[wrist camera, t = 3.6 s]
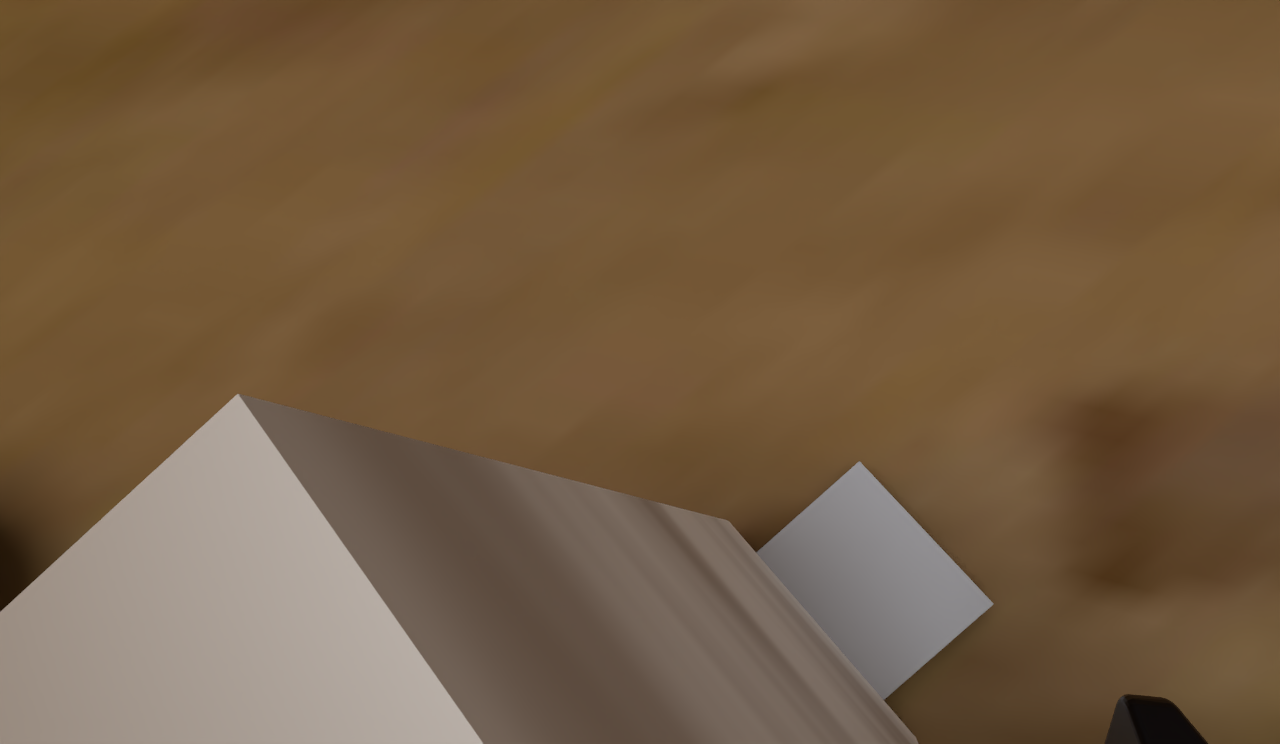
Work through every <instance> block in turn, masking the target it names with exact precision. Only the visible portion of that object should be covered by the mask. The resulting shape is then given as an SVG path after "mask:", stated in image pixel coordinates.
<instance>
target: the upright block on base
mask: <svg viewBox="0 0 1280 744" xmlns="http://www.w3.org/2000/svg"><path fill="white" fill-rule="evenodd" d="M992 605H993V603H992V602H991V600H990V599H989V598H988V597H987V596H986V595H985V594H984V593H983V592H982V591H981V590H980V589H979V588H978V587H977V586H976V585H975V584H974V582H973V581H972V580H971V579H970V578H969V577H968V576H967V575H966V574H965V573H964V572H963V571H962V570H961V569H960V568H959V567H958V565H957V564H956V563H955V562H954V561H953V560H952V559H951V558H950V557H949V556H948V555H947V554H946V553H945V552H944V551H943V550H942V548H941V547H940V546H939V545H938V544H937V543H936V542H935V541H934V540H933V539H932V538H931V537H930V536H929V535H928V534H927V533H926V531H925V530H924V529H923V528H922V527H921V526H920V525H919V524H918V523H917V522H916V521H915V520H914V519H913V518H912V517H911V516H910V514H909V513H908V512H907V511H906V510H905V509H904V508H903V507H902V506H901V505H900V504H899V503H898V502H897V501H896V500H895V499H894V497H893V496H892V495H891V494H890V493H889V492H888V491H887V490H886V489H885V488H884V487H883V486H882V485H881V484H880V483H879V482H878V480H877V479H876V478H875V477H874V476H873V475H872V474H871V473H870V472H869V471H868V470H867V469H866V468H865V467H864V466H863V465H862V463H861V462H860V461H859V462H858V463H857V464H856V465H855V466H853V467H852V468H851V469H850V470H849V471H848V472H847V473H846V474H844V475H843V476H842V477H841V478H840V479H839V480H838V481H836V482H835V483H834V484H833V485H832V486H831V487H830V488H829V489H827V490H826V491H825V492H824V493H823V494H822V495H821V496H820V497H818V498H817V499H816V500H815V501H814V502H813V503H812V504H811V505H809V506H808V507H807V508H806V509H805V510H804V511H803V512H802V513H800V514H799V515H798V516H797V517H796V518H795V519H794V520H792V521H791V522H790V523H789V524H788V525H787V526H786V527H785V528H783V529H782V530H781V531H780V532H779V533H778V534H777V535H776V536H774V537H773V538H772V539H771V540H770V541H769V542H768V543H767V544H765V545H764V546H763V547H762V548H761V549H760V550H759V551H758V552H755V551H754V550H753V549H752V547H751V546H750V545H749V544H748V543H747V542H746V540H745V539H744V538H743V537H742V536H741V535H740V534H739V532H738V531H737V530H736V529H735V528H734V527H733V525H732V524H731V523H730V522H729V521H728V520H724V519H720V518H716V517H712V516H708V515H704V514H701V513H697V512H693V511H689V510H685V509H681V508H677V507H674V506H670V505H666V504H662V503H658V502H654V501H650V500H646V499H643V498H639V497H635V496H631V495H627V494H623V493H619V492H616V491H612V490H608V489H604V488H600V487H596V486H592V485H589V484H585V483H581V482H577V481H573V480H569V479H565V478H561V477H558V476H554V475H550V474H546V473H542V472H538V471H534V470H531V469H527V468H523V467H519V466H515V465H511V464H507V463H504V462H500V461H496V460H492V459H488V458H484V457H480V456H476V455H473V454H469V453H465V452H461V451H457V450H453V449H449V448H446V447H442V446H438V445H434V444H430V443H426V442H422V441H418V440H415V439H411V438H407V437H403V436H399V435H395V434H391V433H388V432H384V431H380V430H376V429H372V428H368V427H364V426H361V425H357V424H353V423H349V422H345V421H341V420H337V419H333V418H330V417H326V416H322V415H318V414H314V413H310V412H306V411H303V410H299V409H295V408H291V407H287V406H283V405H279V404H275V403H272V402H268V401H264V400H260V399H256V398H252V397H248V396H245V395H241V394H237V395H236V396H235V397H234V398H233V399H232V400H231V401H230V402H228V403H227V404H226V405H225V406H224V407H223V408H222V409H221V410H220V411H219V412H218V413H216V414H215V415H214V416H213V417H212V418H211V419H210V420H209V421H208V422H207V423H206V424H204V425H203V426H202V427H201V428H200V429H199V430H198V431H197V432H196V433H195V434H194V435H192V436H191V437H190V438H189V439H188V440H187V441H186V442H185V443H184V444H183V445H182V446H181V447H179V448H178V449H177V450H176V451H175V452H174V453H173V454H172V455H171V456H170V457H169V458H167V459H166V460H165V461H164V462H163V463H162V464H161V465H160V466H159V467H158V468H157V469H155V470H154V471H153V472H152V473H151V474H150V475H149V476H148V477H147V478H146V479H145V480H143V481H142V482H141V483H140V484H139V485H138V486H137V487H136V488H135V489H134V490H133V491H131V492H130V493H129V494H128V495H127V496H126V497H125V498H124V499H123V500H122V501H121V502H119V503H118V504H117V505H116V506H115V507H114V508H113V509H112V510H111V511H110V512H109V513H107V514H106V515H105V516H104V517H103V518H102V519H101V520H100V521H99V522H98V523H97V524H95V525H94V526H93V527H92V528H91V529H90V530H89V531H88V532H87V533H86V534H85V535H83V536H82V537H81V538H80V539H79V540H78V541H77V542H76V543H75V544H74V545H73V546H72V547H70V548H69V549H68V550H67V551H66V552H65V553H64V554H63V555H62V556H61V557H60V558H58V559H57V560H56V561H55V562H54V563H53V564H52V565H51V566H50V567H49V568H48V569H46V570H45V571H44V572H43V573H42V574H41V575H40V576H39V577H38V578H37V579H36V580H34V581H33V582H32V583H31V584H30V585H29V586H28V587H27V588H26V589H25V590H24V591H22V592H21V593H20V594H19V595H18V596H17V597H16V598H15V599H14V600H13V601H12V602H10V603H9V604H8V605H7V606H6V607H5V608H4V609H3V610H2V611H1V612H0V744H918V742H917V739H916V737H915V736H914V735H913V734H912V732H911V731H910V730H909V729H908V728H907V727H906V725H905V724H904V723H903V722H902V721H901V720H900V718H899V717H898V716H897V715H896V714H895V713H894V712H893V710H892V709H891V708H890V707H889V706H888V705H887V703H886V702H885V701H884V699H886V698H887V697H888V696H889V695H890V694H891V693H892V692H894V691H895V690H896V689H897V688H898V687H899V686H900V685H902V684H903V683H904V682H905V681H906V680H907V679H908V678H910V677H911V676H912V675H913V674H914V673H915V672H916V671H918V670H919V669H920V668H921V667H922V666H923V665H924V664H926V663H927V662H928V661H929V660H930V659H931V658H932V657H934V656H935V655H936V654H937V653H938V652H939V651H941V650H942V649H943V648H944V647H945V646H946V645H947V644H949V643H950V642H951V641H952V640H953V639H954V638H955V637H957V636H958V635H959V634H960V633H961V632H962V631H963V630H965V629H966V628H967V627H968V626H969V625H970V624H971V623H973V622H974V621H975V620H976V619H977V618H978V617H979V616H981V615H982V614H983V613H984V612H985V611H986V610H987V609H989V608H990V607H991V606H992Z"/></svg>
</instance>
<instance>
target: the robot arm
mask: <svg viewBox="0 0 1280 744" xmlns="http://www.w3.org/2000/svg"><path fill="white" fill-rule="evenodd" d="M1105 744H1208V743H1207V742H1206V740H1205V739H1204V738H1203V737H1202V736H1201V735H1200V733H1199V732H1198V731H1197V730H1196V729H1195V727H1194V726H1193V725H1192V724H1191V723H1190V721H1189V720H1188V719H1187V718H1186V717H1185V715H1184V714H1183V713H1182V712H1181V711H1180V709H1179V708H1178V707H1177V706H1176V705H1175V704H1174V703H1172V702H1171V701H1169V700H1167V699H1165V698H1161V697H1151V696H1141V695H1130V694H1128V695H1124V696H1122V697H1121V698H1120V699H1119V700H1118V702H1117V705H1116V708H1115V711H1114V715H1113V718H1112V721H1111V725H1110V728H1109V731H1108V735H1107V738H1106V741H1105Z"/></svg>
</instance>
